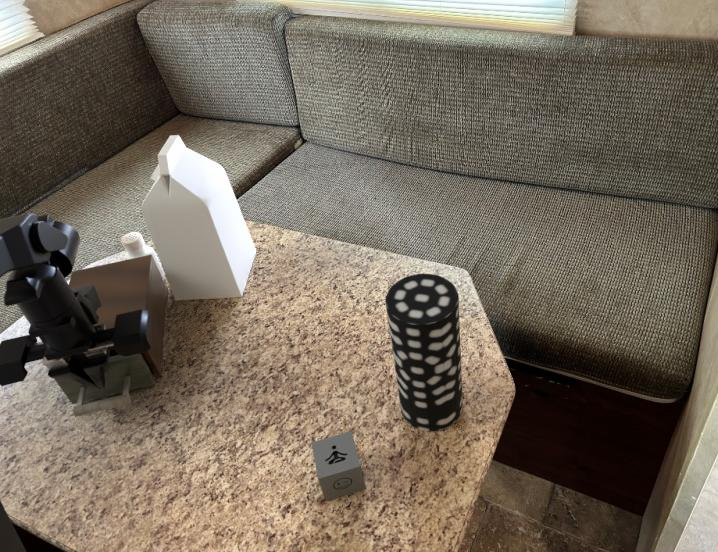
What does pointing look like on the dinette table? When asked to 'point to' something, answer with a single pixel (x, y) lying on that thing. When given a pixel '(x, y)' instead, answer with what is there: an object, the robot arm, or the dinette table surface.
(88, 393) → the drawer
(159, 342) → the cabinet
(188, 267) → the milk
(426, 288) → the spotted tube
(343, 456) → the dice cube
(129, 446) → the dinette table surface
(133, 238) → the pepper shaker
